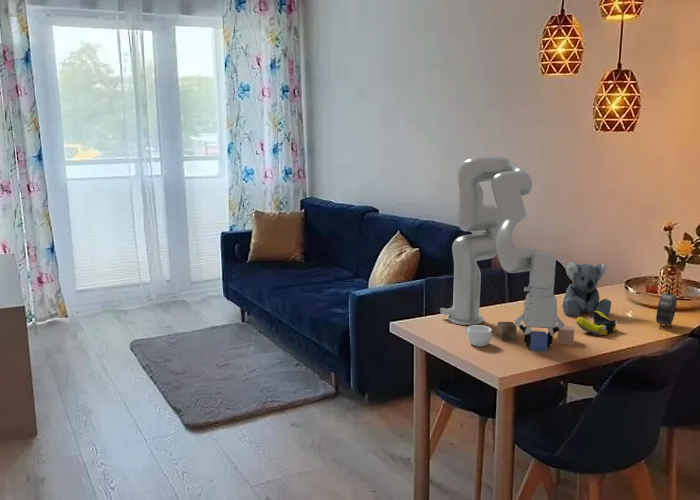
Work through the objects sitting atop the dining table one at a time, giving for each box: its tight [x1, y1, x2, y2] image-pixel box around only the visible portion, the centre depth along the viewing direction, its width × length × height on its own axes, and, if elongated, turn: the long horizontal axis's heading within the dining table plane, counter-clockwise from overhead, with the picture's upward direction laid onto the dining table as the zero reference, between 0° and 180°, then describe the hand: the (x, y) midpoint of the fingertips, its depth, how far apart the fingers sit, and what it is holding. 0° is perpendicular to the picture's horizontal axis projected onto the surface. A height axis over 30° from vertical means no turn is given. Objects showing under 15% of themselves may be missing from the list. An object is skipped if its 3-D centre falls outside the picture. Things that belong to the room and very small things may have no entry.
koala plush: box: [561, 261, 612, 318], centre depth 252 cm, size 17×18×20 cm
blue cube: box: [529, 330, 548, 352], centre depth 211 cm, size 5×5×5 cm
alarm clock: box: [655, 282, 678, 330], centre depth 233 cm, size 11×5×16 cm, turn 145°
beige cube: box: [556, 324, 576, 346], centre depth 217 cm, size 5×5×5 cm
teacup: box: [464, 324, 493, 348], centre depth 215 cm, size 10×8×5 cm
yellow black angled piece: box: [576, 311, 618, 337], centre depth 229 cm, size 15×6×10 cm
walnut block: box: [496, 321, 518, 341], centre depth 221 cm, size 5×5×5 cm
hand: (537, 345), depth 211 cm, fingers open, 5 cm apart
